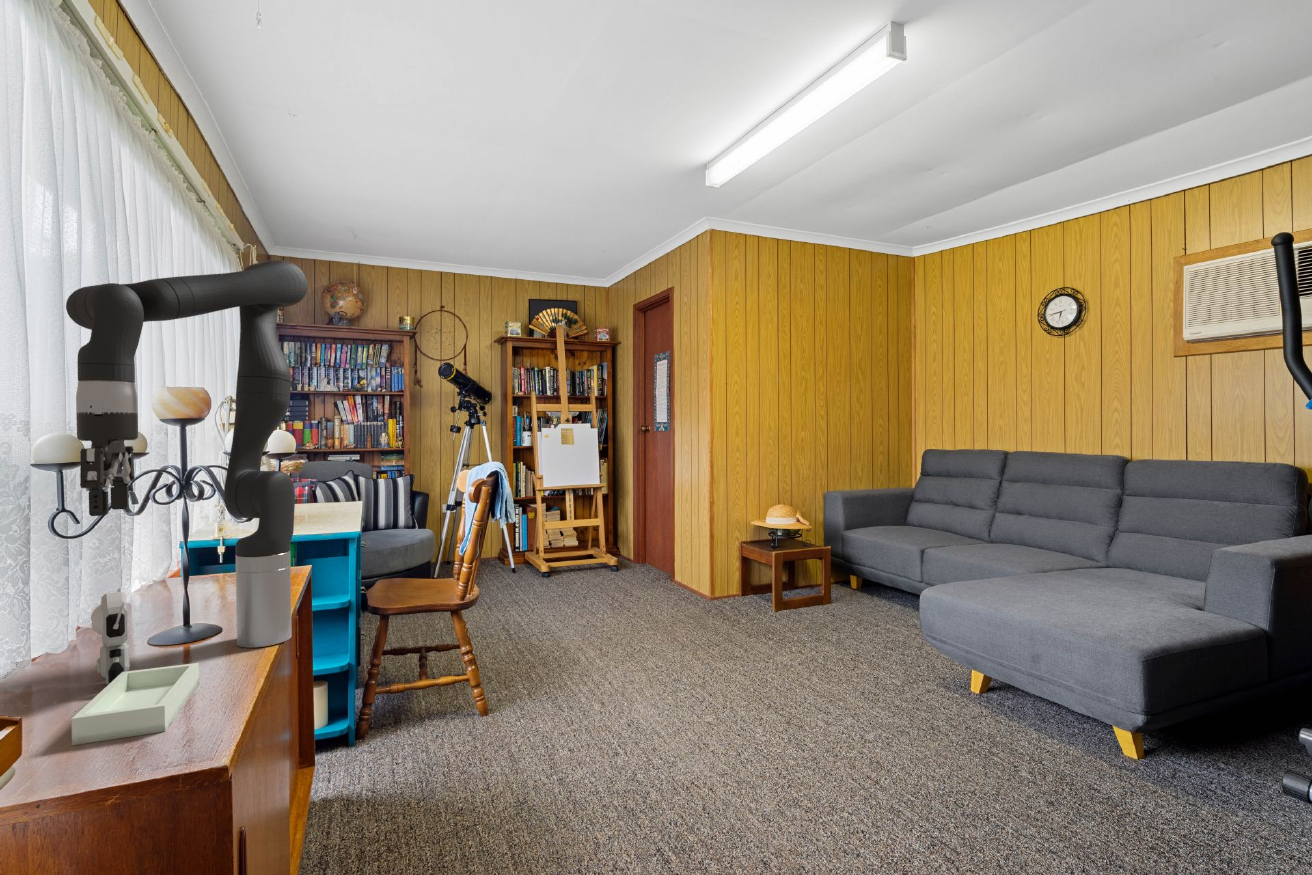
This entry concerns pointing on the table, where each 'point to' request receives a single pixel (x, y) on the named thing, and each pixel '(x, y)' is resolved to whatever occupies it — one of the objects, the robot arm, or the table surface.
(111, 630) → the robot toy
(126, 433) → the robot arm
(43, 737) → the table surface
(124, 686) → the tray
